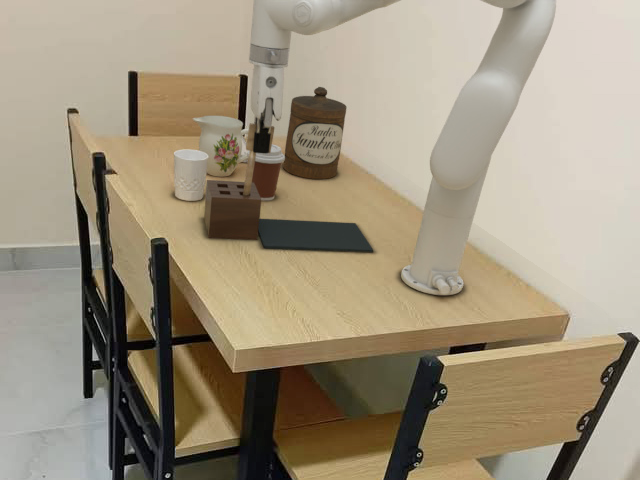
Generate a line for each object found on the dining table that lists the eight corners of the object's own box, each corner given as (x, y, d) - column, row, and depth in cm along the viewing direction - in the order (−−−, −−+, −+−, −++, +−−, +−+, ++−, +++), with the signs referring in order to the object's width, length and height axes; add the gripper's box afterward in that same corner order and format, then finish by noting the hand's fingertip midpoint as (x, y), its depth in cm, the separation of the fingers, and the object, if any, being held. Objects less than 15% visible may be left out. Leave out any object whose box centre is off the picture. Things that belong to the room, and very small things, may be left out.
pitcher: (261, 177, 193) (267, 124, 186) (198, 181, 185) (202, 125, 177) (242, 163, 201) (247, 112, 194) (181, 166, 192) (184, 113, 185)
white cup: (200, 204, 171) (202, 162, 166) (167, 198, 172) (169, 156, 167) (209, 194, 178) (212, 152, 173) (178, 188, 179) (180, 147, 173)
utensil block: (257, 239, 158) (261, 199, 153) (208, 237, 156) (211, 197, 151) (250, 221, 166) (254, 182, 162) (203, 219, 164) (206, 179, 159)
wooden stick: (258, 221, 158) (274, 127, 148) (235, 219, 157) (250, 124, 146) (257, 219, 159) (273, 125, 149) (235, 216, 158) (249, 122, 148)
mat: (373, 252, 159) (373, 250, 159) (264, 248, 154) (264, 245, 154) (354, 225, 172) (355, 223, 172) (253, 220, 167) (253, 218, 166)
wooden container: (290, 178, 195) (301, 92, 183) (277, 160, 207) (287, 78, 195) (343, 180, 199) (357, 96, 187) (327, 162, 211) (340, 82, 199)
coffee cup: (287, 200, 181) (293, 151, 174) (256, 204, 176) (261, 154, 169) (266, 187, 187) (271, 140, 180) (235, 191, 182) (240, 142, 175)
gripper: (296, 65, 135) (284, 164, 145) (281, 49, 148) (271, 141, 158) (255, 62, 134) (247, 162, 143) (244, 46, 146) (236, 139, 156)
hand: (260, 150), depth 150 cm, fingers closed on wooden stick, 1 cm apart
